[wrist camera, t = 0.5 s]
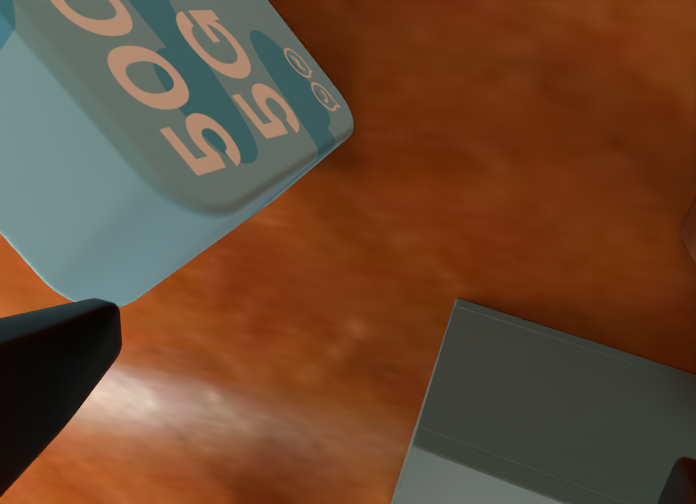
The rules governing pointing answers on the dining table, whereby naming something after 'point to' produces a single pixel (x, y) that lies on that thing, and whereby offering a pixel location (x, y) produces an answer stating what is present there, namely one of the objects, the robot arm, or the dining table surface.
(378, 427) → the dining table surface
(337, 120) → the data package
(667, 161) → the dining table surface
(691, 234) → the block
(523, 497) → the cabinet
